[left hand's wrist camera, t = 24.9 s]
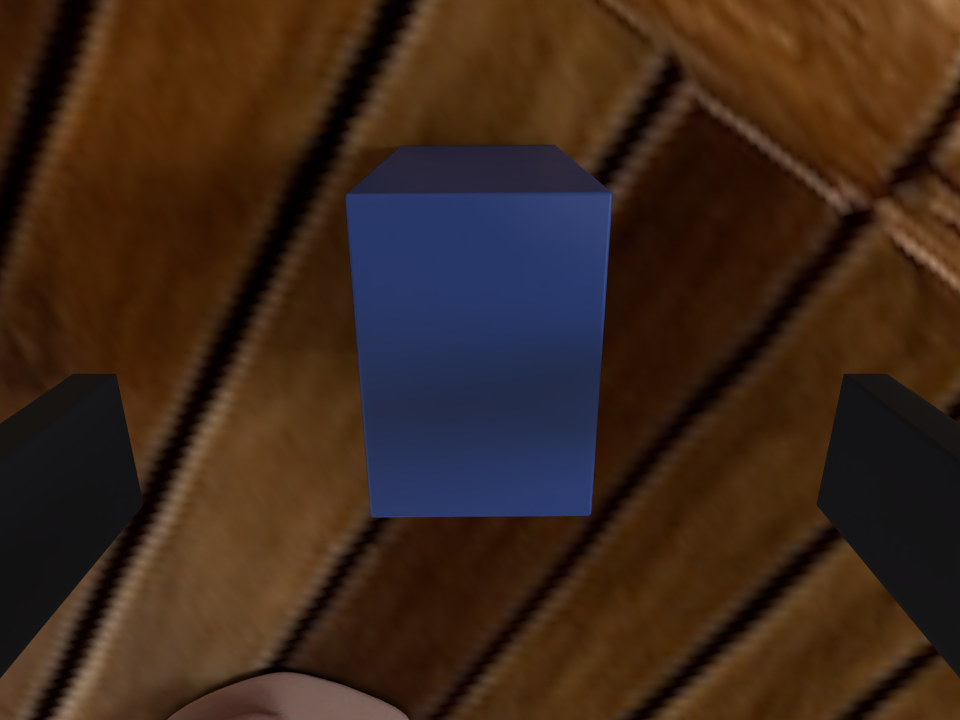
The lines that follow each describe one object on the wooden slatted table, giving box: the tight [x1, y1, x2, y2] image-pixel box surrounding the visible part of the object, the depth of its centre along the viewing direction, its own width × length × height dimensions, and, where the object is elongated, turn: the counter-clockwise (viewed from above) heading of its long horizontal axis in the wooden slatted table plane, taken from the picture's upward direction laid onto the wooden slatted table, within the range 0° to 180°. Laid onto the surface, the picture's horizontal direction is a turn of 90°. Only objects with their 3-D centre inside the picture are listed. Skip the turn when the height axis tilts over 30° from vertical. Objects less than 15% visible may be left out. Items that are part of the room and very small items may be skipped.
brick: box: [345, 145, 612, 517], centre depth 19 cm, size 5×8×10 cm
